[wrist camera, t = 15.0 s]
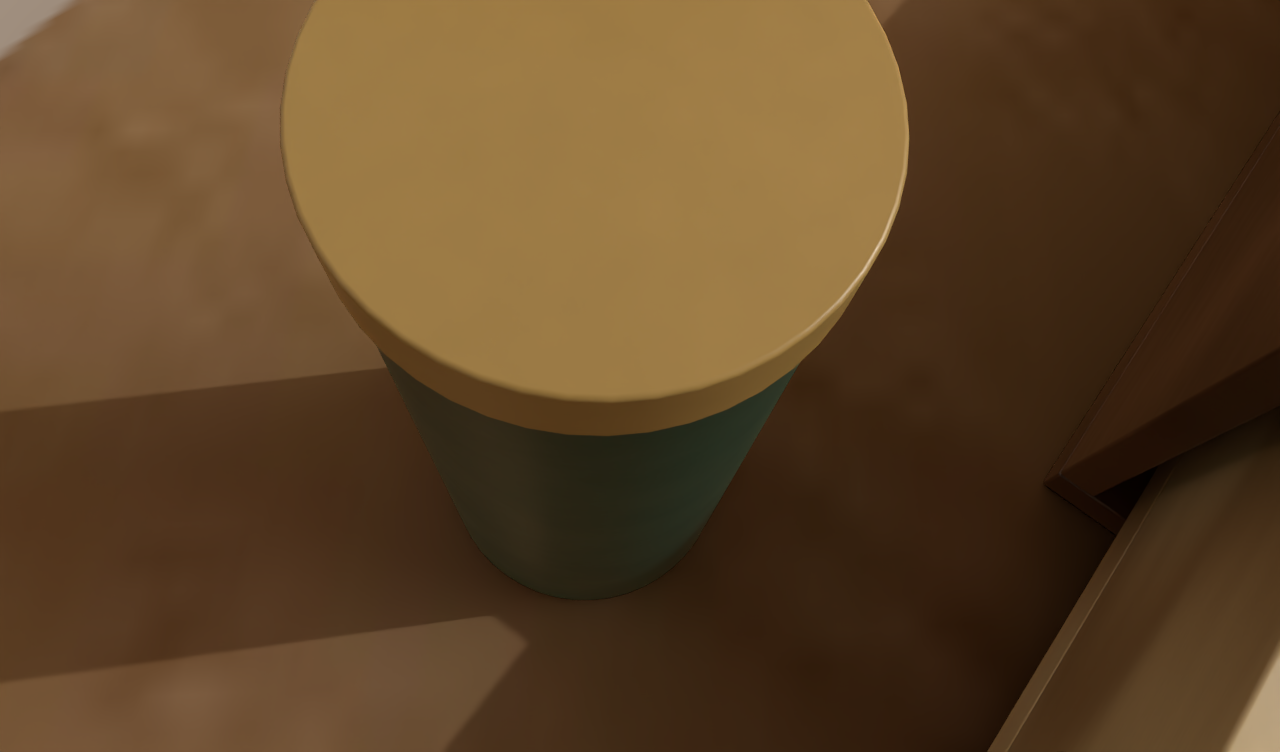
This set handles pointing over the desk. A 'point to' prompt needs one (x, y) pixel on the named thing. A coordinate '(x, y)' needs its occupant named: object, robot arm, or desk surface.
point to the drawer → (1174, 617)
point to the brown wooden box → (1189, 354)
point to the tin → (593, 242)
